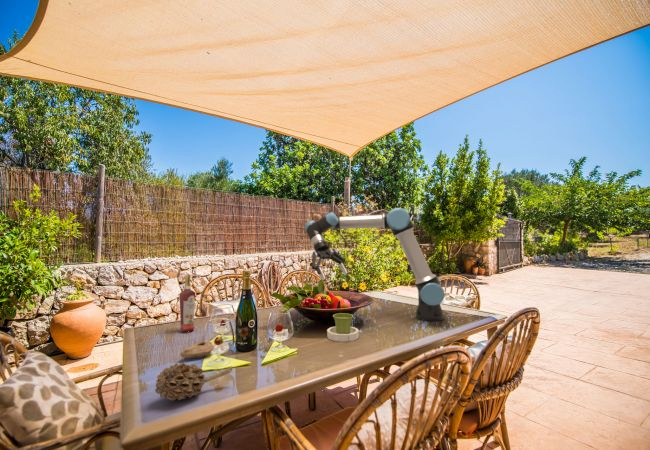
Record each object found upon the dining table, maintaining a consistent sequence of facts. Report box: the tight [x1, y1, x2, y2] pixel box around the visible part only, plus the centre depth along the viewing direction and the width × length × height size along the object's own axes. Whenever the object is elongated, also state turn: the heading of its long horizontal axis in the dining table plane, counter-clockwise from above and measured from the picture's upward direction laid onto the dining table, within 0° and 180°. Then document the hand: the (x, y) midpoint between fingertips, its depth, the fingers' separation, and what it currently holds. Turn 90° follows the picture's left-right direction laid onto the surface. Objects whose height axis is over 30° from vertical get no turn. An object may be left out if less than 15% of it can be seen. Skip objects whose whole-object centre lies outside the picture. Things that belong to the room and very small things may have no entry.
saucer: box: [326, 325, 360, 343], centre depth 146 cm, size 14×14×3 cm
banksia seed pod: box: [154, 362, 235, 402], centre depth 93 cm, size 22×10×10 cm, turn 128°
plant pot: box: [332, 312, 354, 334], centre depth 146 cm, size 9×9×9 cm
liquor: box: [179, 274, 196, 333], centre depth 158 cm, size 7×7×28 cm
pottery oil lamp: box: [180, 340, 215, 359], centre depth 123 cm, size 9×12×7 cm
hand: (335, 276), depth 165 cm, fingers open, 13 cm apart
